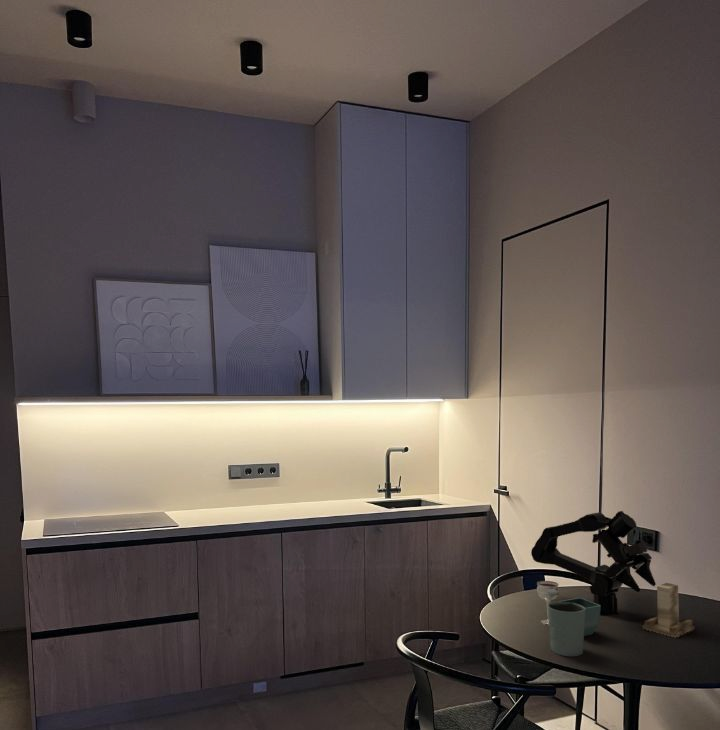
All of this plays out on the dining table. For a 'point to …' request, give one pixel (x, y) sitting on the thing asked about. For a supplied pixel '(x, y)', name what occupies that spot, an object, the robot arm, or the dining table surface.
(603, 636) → the dining table surface
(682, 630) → the wooden tray
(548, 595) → the wineglass
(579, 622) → the green cup
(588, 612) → the flower pot
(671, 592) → the wooden block
